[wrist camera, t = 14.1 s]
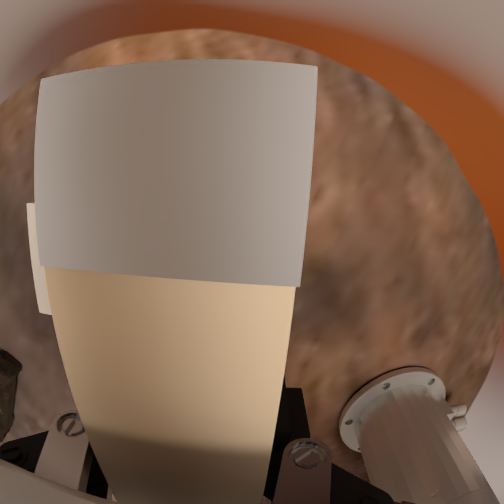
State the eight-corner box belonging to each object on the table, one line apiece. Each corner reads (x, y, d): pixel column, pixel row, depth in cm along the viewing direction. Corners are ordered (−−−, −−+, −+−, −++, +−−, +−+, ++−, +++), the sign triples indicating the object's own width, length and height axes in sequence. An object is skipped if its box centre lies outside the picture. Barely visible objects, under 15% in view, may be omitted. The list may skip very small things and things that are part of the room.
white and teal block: (114, 310, 27) (109, 199, 24) (102, 324, 25) (93, 204, 22) (54, 300, 27) (44, 198, 24) (39, 312, 24) (26, 203, 22)
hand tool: (2, 343, 29) (-19, 362, 24) (25, 363, 29) (5, 384, 25) (-4, 416, 33) (-18, 432, 29) (14, 431, 34) (2, 449, 29)
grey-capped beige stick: (281, 121, 9) (317, 66, 4) (247, 488, 14) (245, 579, 8) (153, 118, 9) (40, 79, 4) (175, 481, 14) (156, 568, 8)
